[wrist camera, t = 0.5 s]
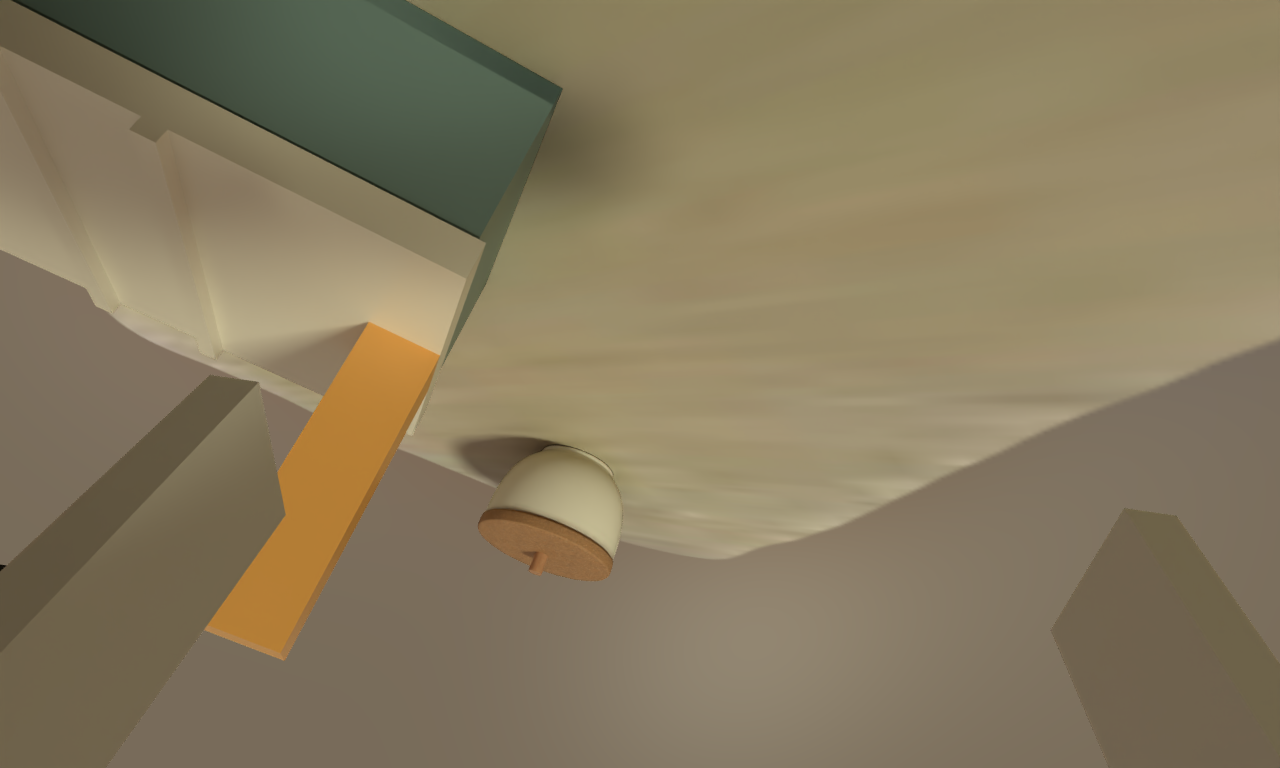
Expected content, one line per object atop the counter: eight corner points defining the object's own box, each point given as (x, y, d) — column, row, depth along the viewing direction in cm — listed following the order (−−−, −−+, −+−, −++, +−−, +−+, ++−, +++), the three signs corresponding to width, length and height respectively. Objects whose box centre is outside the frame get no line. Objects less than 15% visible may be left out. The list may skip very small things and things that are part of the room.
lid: (-166, -90, 22) (-702, 257, 16) (486, 243, 26) (270, 635, 20) (21, 223, 37) (-221, 474, 30) (426, 409, 40) (289, 669, 34)
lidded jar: (651, 462, 58) (610, 581, 53) (630, 508, 67) (593, 611, 63) (517, 413, 58) (464, 527, 53) (514, 465, 67) (470, 565, 63)
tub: (42, -204, 27) (-142, -81, 23) (562, 88, 30) (480, 237, 27) (135, 108, 40) (29, 218, 37) (485, 284, 44) (424, 400, 40)
